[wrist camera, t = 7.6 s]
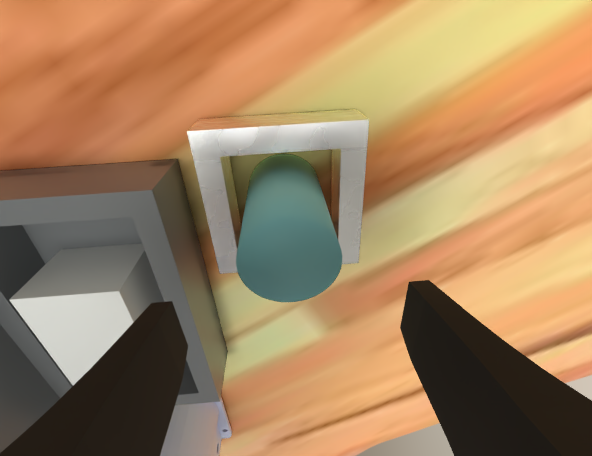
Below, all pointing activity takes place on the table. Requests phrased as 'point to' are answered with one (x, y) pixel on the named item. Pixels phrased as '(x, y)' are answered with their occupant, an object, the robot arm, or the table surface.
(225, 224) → the white square frame
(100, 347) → the case
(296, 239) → the teal cylinder
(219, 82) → the table surface
